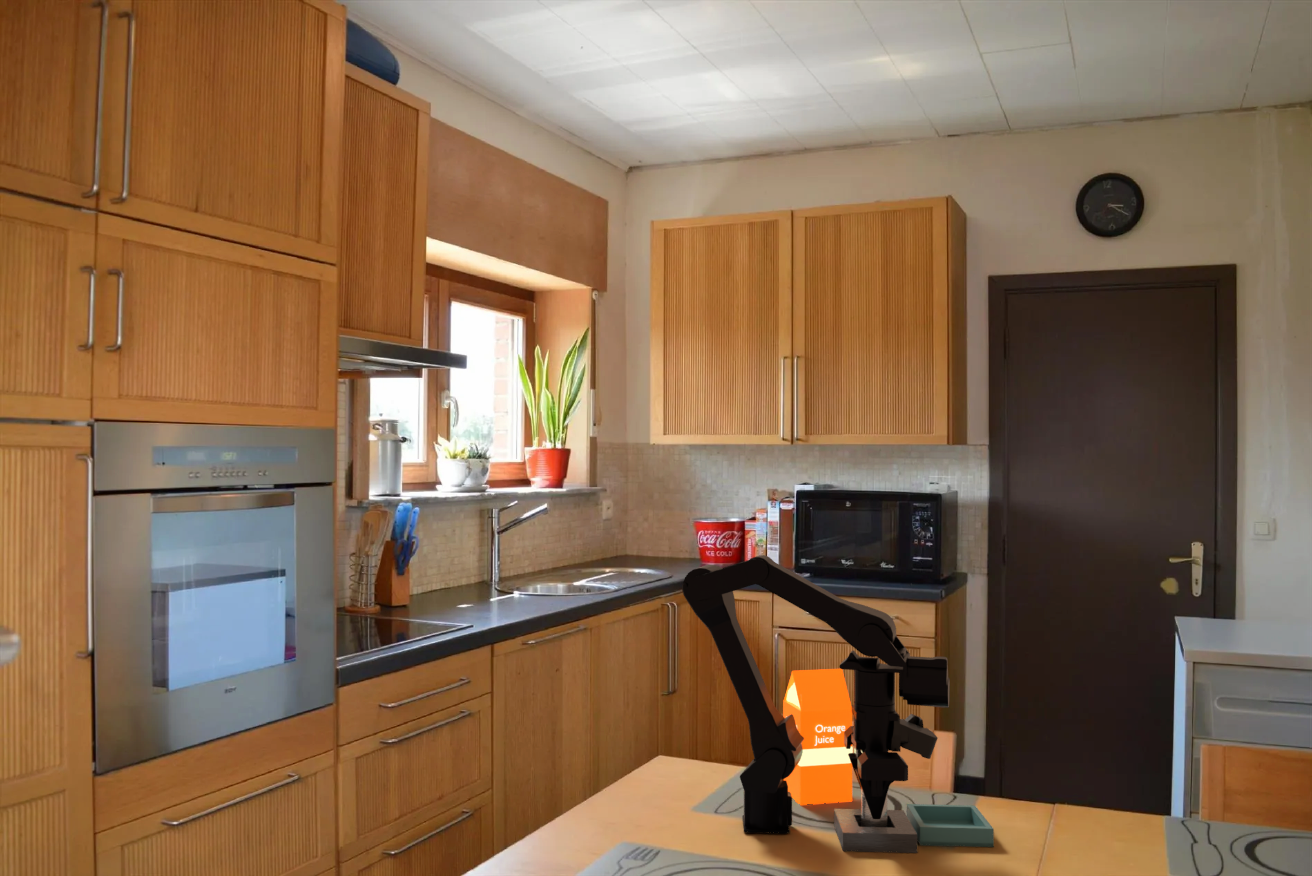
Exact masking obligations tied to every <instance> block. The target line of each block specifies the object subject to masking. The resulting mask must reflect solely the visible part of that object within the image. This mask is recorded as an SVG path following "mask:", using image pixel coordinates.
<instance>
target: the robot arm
mask: <svg viewBox="0 0 1312 876" xmlns="http://www.w3.org/2000/svg"><path fill="white" fill-rule="evenodd" d="M754 585H758V586H760V588H761V587H762V588H763V589H765V590H767V591H768V592H770V593H772V594H774V595H775V596H778V597H779V598H781V599H782V600H785V601H786V602H788V603H790V604H792V605H793V606H795V607H797V608H799V609H800V610H802V611H804V612H806V613H807V614H809V615H812V616H813V617H815V618H816V619H818V620H821V621H822V622H823V623H825V624H827V625H828V626H829V627H830V628H832V629H833V630H834V631H835V632H836V633H837V634H838V636H840V637H841V638H842V640H844V641H845V642H846V643H848V645H850V646H852V648H854V649H855V650H856V651H857V652H859V653H860V654H862V655H863V656H860V655H858V653H856V651H855V650H851V651H850V653H849V654H848V656H847V657H846V658H845V659H843V661H841V663H840V664H839V669H842V670H845V671H846V670H848V671H849V670H850V671H853V704H851V706H852V716H853V725H852V726H850V727H849V728H848V729H847V730H846V731H845V732H844V745H845V747H846V749H850V748H851V745H852V746H853V753H849V754H848V756H849V759H850V761H851V764H852V771H853V772H854V774H855V777H856V780H857V783H858V785H859V787H860V789H861V787H862V790H863V793H864V796H865V799H866V801H867V804H868V807H869V810H870V813H871V816H872V818H873V819H880V818H881V815H882V811H883V808H884V804H885V800H886V796H887V797H888V791H889V788H890V786H891V784H893V782H906V781H909V765H908V764H907V762H906V761H905V759H904V758H903V757H902V756H901V755H900V754H899V753H898V752H900V753H901V749H904V750H907V751H909V752H913V753H915V754H918V755H920V756H921V758H924V759H928V760H930V759H931V757H932V754H933V753H934V748H935V747H936V745H937V741H938V738H939V737H938V736H937V735H936V734H935V733H934V732H933V731H932V730H930V729H929V728H927V727H924V721H923V719H922V718H921V717H920V716H918V715H916V714H912V713H910V714H909V715H908V716H907V717H906V718H905V719H904V718H901V716H900V714H899V713H898V712H897V710H896V697H895V696H896V691H895V690H896V673H897V674H898V695H899V696H898V697H900V698H902V700H903V701H906V704H907V705H908V706H922V707H923V706H924V707H933V708H950V687H951V686H950V684H951V683H950V677H949V666H948V664H949V663H948V657H946V656H934V657H929V656H928V657H927V656H915V655H914V656H913V655H911V653H910V652H909V651H908V650H907V647H906V646H905V645H904V643H903V642H902V641H901V640H900V638H899V637H898V636H897V626H896V624H895V621H894V620H893V618H892V617H891V615H889V614H888V613H886V612H884V611H881V610H879V609H876V608H873V607H870V606H867V605H864V604H862V603H861V604H860V603H859V602H858V603H857V602H852V601H849V600H847V599H844V598H841V597H839V596H837V595H835V594H833V593H832V592H830V591H828V590H826V589H824V588H822V587H821V586H819V585H817V584H815V583H813V582H812V581H810V580H808V579H806V578H805V577H802V576H800V575H799V574H797V573H796V572H793V571H792V570H789V569H788V568H786V567H784V566H782V564H779V563H777V562H775V561H774V560H773V559H772V558H771V557H770V556H767V555H765V554H759V555H756V556H754V557H752V558H749V559H747V560H745V561H741V562H737V563H735V564H730V565H727V566H725V567H724V566H723V567H721V566H719V565H716V564H707V565H703V566H701V567H697V568H694V569H692V570H690V571H689V572H688V573H687V574H686V575H685V577H684V579H683V581H682V585H681V590H682V593H683V597H684V598H685V600H686V602H687V603H688V605H689V607H690V608H691V609H692V611H693V613H694V615H696V617H697V618H698V619H699V620H700V621H701V622H702V624H703V625H704V626H705V627H706V628H707V629H708V631H709V632H710V635H711V638H713V642H714V644H715V646H716V648H717V650H718V652H719V655H720V657H721V659H722V662H723V664H724V667H725V669H726V672H727V674H728V676H729V678H730V681H731V683H732V685H733V688H734V690H735V692H736V695H737V698H738V700H739V702H740V704H741V706H742V709H743V711H744V713H745V716H746V718H747V721H748V722H747V723H748V730H749V738H750V745H751V749H752V753H753V758H754V759H752V761H750V763H749V764H748V765H747V766H746V767H745V769H744V770H743V771H742V773H740V775H739V779H740V782H741V784H742V785H741V787H742V789H743V815H742V818H741V819H742V829H743V833H747V834H784V835H785V834H786V835H787V834H790V827H791V826H792V825H793V799H792V796H791V793H790V792H789V791H788V785H787V781H785V780H784V779H785V778H787V777H788V776H789V775H790V774H791V773H792V772H793V770H794V769H795V767H796V766H797V764H798V763H799V761H800V759H801V757H802V753H803V748H802V744H801V743H802V741H803V740H804V737H803V736H802V735H801V734H800V733H799V731H798V730H797V727H796V723H795V719H794V716H793V714H791V715H789V716H787V717H786V718H784V717H783V714H782V713H781V712H780V711H779V710H778V709H777V707H776V706H775V704H774V701H773V699H772V697H771V695H770V693H769V691H768V688H767V685H766V682H765V681H764V679H763V676H762V674H761V672H760V669H759V667H758V665H757V663H756V661H755V658H754V656H753V654H752V650H751V649H750V646H749V644H748V641H747V639H746V637H745V635H744V632H743V631H742V628H741V625H740V623H739V620H738V616H737V608H736V601H735V600H736V599H735V594H734V591H737V590H742V589H745V588H747V587H750V586H754ZM880 660H881V661H883V662H884V663H881V661H880Z"/></svg>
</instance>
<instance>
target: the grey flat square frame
mask: <svg viewBox="0 0 1312 876" xmlns="http://www.w3.org/2000/svg"><path fill="white" fill-rule="evenodd" d="M833 826H834V829H835V833H836V836H837V838H838V841H839V844H840V847H841V849H842V852H865V853H866V852H867V853H900V854H901V853H904V854H918V840H917V833H916V831H915V830H914V828H913V826H912V824H911V823H910V821H909V819H908V817H907V813H906V812H905V811H904V810H903V809H902V810H900V809H898V810H897V809H887V827H861V808H860V809H857V808H854V809H853V808H833Z"/></svg>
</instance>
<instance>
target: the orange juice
mask: <svg viewBox="0 0 1312 876" xmlns="http://www.w3.org/2000/svg"><path fill="white" fill-rule="evenodd" d="M843 670H844V669H840V668H826V669H825V668H824V669H801V670H799V669H798V670H792V671H791V675H790V679H789V681H788V685H787V688H786V692H785V695H784V699H783V700H782V702H783V704H782V706H783V707H782V710H783V711H782V716H783V717H784V718H786V717H787V716H789V715H791V714H793V716H794V719H795V723H796V727H797V730H798V731H799V733H800V734H801V735H802V736H803V737H804V740H803V741H802V743H801V744H802V748H803V753H802V757H801V759H800V761H799V763H798V764H797V766H796V767H795V769H794V770H793V772H792V773H791V774H790V775H789V776H788V777H787V778H785V779H784V780H785V781H787V785H788V791H789V792H790V793H791V796H792V798H793V799H794V800H795V801H794V800H793V799H792V800H793V801H794V802H795V803H797V804H798V805H799V804H800V805H799V806H808V805H807V804H813V805H822V804H824V803H826V804H837V803H838V802H839V803H849V802H850V803H851V802H853V767H852V764H851V761H850V759H849V756H848V754H849V753H854V746H853V745H851V748H850V749H846V747H845V745H844V732H845V731H846V730H847V729H848V728H849V727H850V726H853V714H852V703H851V700H850V694H849V691H848V686H847V683H846V682H847V681H846V679H845V676H844V671H843ZM826 804H825V805H826Z"/></svg>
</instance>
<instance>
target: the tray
mask: <svg viewBox="0 0 1312 876" xmlns="http://www.w3.org/2000/svg"><path fill="white" fill-rule="evenodd" d="M906 816H907V817H908V819H909V821H910V823H911V824H912V826H913V828H914V830H915V831H916V833H917V843H918V844H919V845H920V846H933V847H934V846H935V847H938V846H939V847H968V848H969V847H971V848H972V847H975V848H977V847H978V848H982V847H983V848H994V844H995V843H994V840H995V839H994V834H995V833H994V827H993V826H992V825H991V823H990V822H989V821H988V820H987V818H986V817H985V816H984V815H983V813H982V812H981V811H980V810H979V809H978V807H977V806H976V805H970V804H969V805H968V804H966V805H964V804H932V803H931V804H930V803H929V804H926V803H925V804H924V803H923V804H922V803H921V804H920V803H906Z"/></svg>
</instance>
